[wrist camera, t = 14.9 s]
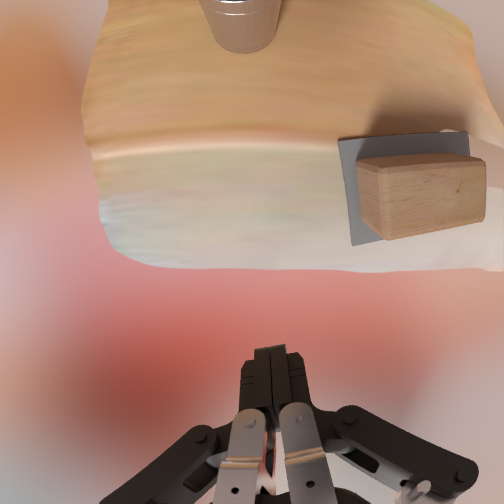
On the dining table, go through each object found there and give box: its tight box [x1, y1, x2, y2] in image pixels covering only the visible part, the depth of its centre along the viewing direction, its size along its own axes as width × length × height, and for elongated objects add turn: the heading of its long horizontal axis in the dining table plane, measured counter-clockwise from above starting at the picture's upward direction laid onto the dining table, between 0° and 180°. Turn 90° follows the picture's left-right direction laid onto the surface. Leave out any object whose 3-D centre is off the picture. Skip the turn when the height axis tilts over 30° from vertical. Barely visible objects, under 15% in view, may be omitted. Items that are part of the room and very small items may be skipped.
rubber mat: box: [338, 132, 470, 246], centre depth 39 cm, size 17×27×1 cm, turn 103°
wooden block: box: [356, 153, 486, 240], centre depth 34 cm, size 10×10×20 cm
